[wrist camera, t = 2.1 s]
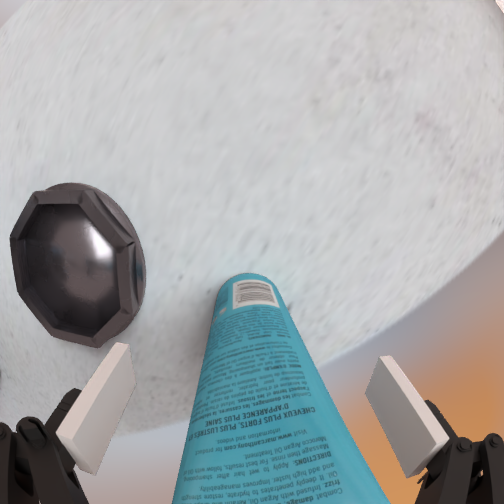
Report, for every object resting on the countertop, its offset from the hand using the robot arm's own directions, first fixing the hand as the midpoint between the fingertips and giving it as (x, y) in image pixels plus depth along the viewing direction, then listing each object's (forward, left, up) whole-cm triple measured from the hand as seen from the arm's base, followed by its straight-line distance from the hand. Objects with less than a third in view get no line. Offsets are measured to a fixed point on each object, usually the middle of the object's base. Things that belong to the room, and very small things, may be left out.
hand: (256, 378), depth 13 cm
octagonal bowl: (-15, +2, -9) cm, 18 cm away
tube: (0, 0, -9) cm, 9 cm away
